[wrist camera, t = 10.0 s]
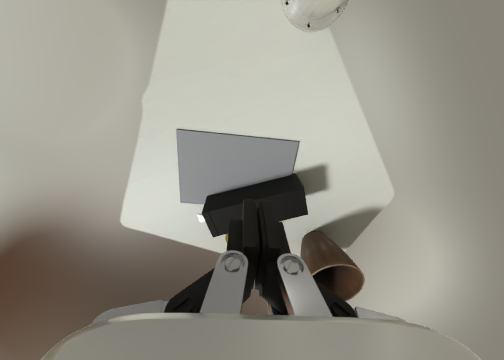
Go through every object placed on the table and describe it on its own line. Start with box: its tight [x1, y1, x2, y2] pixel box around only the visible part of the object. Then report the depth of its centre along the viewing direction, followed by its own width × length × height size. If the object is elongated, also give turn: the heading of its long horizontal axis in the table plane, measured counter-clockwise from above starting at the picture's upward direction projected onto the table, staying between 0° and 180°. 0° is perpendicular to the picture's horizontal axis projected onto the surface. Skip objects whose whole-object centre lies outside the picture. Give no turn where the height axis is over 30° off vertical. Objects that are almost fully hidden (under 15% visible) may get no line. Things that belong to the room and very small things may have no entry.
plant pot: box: [301, 231, 365, 301], centre depth 56 cm, size 15×15×16 cm
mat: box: [176, 129, 299, 204], centre depth 52 cm, size 20×29×1 cm
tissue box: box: [197, 174, 308, 237], centre depth 51 cm, size 8×8×28 cm
